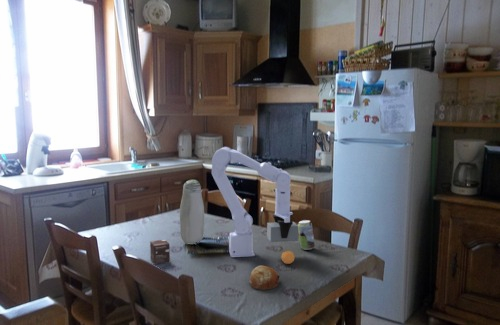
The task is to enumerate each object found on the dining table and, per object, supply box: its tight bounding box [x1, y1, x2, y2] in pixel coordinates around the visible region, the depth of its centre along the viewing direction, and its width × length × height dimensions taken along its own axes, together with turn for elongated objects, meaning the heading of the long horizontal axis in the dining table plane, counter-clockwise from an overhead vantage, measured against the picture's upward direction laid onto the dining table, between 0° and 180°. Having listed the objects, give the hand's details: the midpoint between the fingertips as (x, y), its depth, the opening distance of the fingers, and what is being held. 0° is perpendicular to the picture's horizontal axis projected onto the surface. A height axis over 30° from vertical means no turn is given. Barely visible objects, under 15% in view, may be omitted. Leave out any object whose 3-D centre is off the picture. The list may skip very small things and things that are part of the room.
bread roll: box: [248, 265, 281, 291], centre depth 137 cm, size 10×10×8 cm
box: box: [149, 239, 171, 265], centre depth 156 cm, size 6×6×7 cm
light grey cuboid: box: [266, 221, 299, 243], centre depth 162 cm, size 11×6×6 cm, turn 100°
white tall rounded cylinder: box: [179, 179, 205, 245], centre depth 174 cm, size 10×10×28 cm
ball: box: [280, 250, 295, 265], centre depth 155 cm, size 5×5×5 cm
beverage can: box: [297, 219, 315, 251], centre depth 171 cm, size 6×7×12 cm
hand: (282, 235), depth 162 cm, fingers closed on light grey cuboid, 6 cm apart
